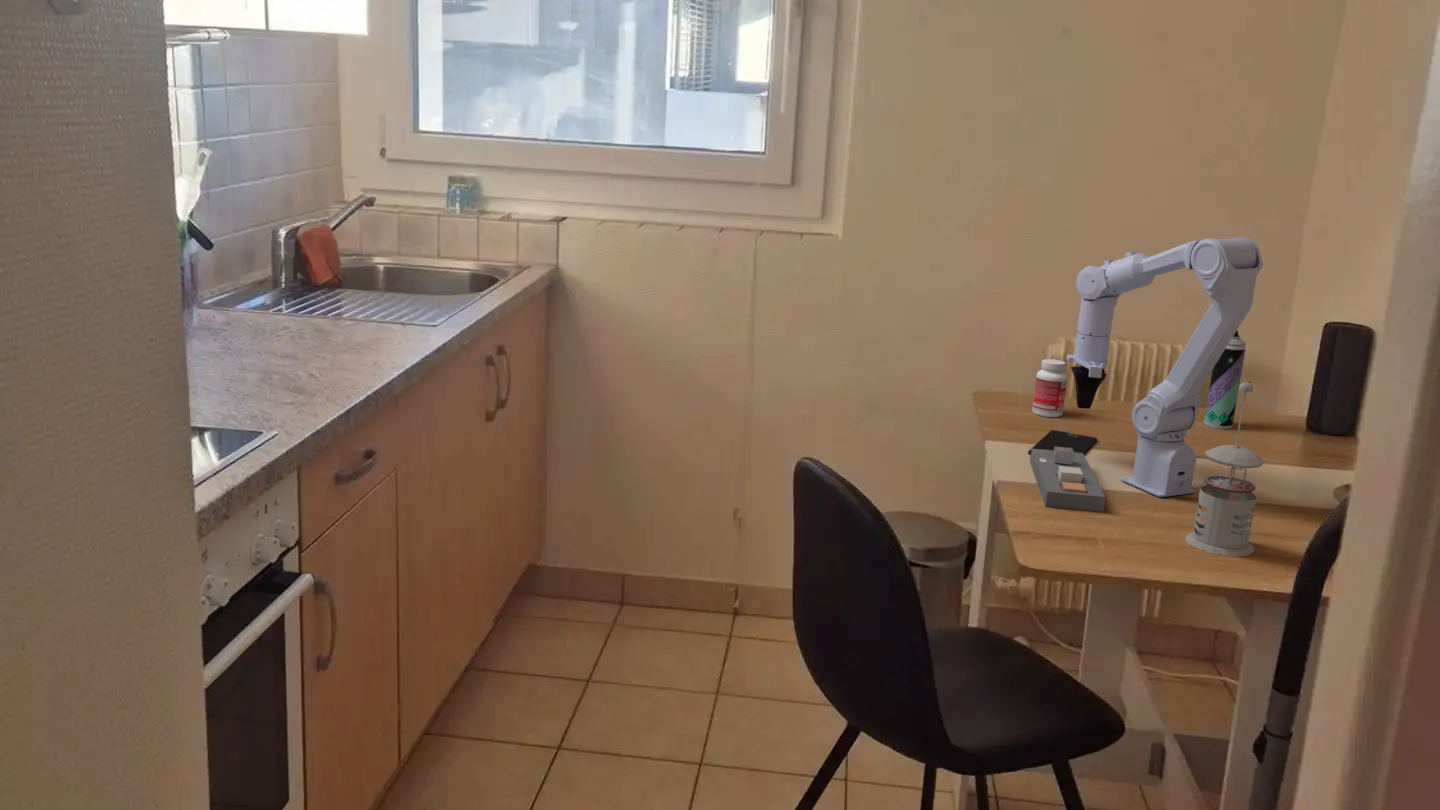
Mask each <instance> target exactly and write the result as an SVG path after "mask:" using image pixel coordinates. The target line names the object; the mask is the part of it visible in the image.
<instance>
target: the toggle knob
mask: <svg viewBox="0 0 1440 810" xmlns="http://www.w3.org/2000/svg"><path fill="white" fill-rule="evenodd" d="M1073 457H1074V451H1073V449H1072V448H1065V447H1054V454H1053V460H1054V463H1062V464H1073Z"/></svg>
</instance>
